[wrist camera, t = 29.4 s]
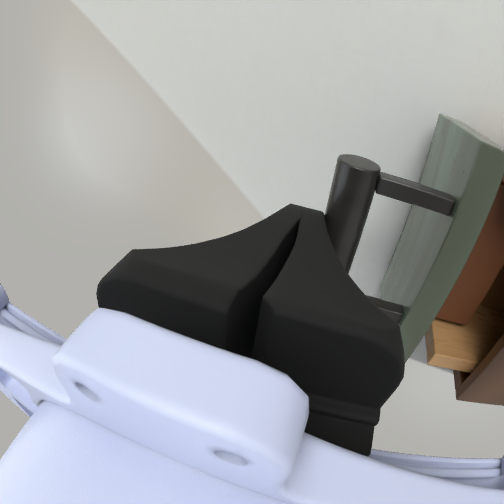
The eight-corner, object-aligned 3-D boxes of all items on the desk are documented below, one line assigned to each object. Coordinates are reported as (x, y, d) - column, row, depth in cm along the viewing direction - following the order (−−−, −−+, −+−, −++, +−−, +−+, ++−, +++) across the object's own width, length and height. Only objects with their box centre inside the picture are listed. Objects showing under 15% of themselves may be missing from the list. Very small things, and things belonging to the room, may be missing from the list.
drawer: (311, 267, 18) (290, 341, 14) (352, 87, 12) (349, 97, 8) (513, 322, 15) (533, 391, 11) (584, 187, 10) (638, 239, 5)
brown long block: (458, 293, 15) (466, 326, 13) (419, 283, 15) (424, 315, 13) (512, 177, 11) (534, 199, 9) (470, 159, 11) (489, 178, 9)
